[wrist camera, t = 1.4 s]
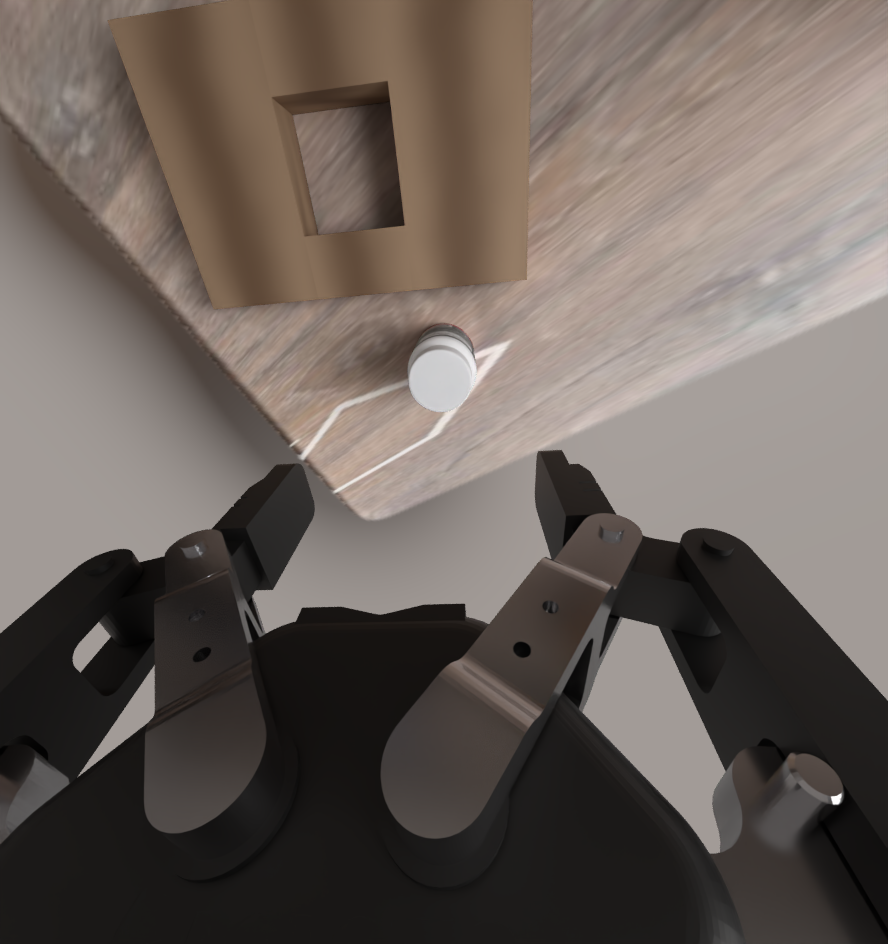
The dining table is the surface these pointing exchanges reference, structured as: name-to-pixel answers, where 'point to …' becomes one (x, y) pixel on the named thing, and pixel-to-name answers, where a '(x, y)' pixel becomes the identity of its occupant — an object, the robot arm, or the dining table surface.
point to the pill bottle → (442, 368)
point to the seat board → (332, 87)
